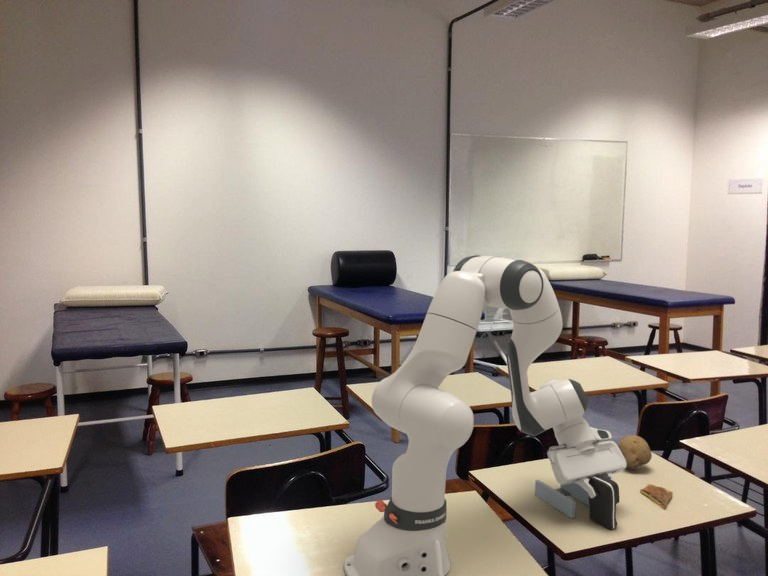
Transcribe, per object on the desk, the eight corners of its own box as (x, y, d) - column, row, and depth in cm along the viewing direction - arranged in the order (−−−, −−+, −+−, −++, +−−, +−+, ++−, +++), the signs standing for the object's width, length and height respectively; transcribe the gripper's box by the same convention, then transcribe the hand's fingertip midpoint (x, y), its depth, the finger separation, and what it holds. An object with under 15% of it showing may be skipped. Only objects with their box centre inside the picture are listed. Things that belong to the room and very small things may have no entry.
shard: (664, 511, 161) (665, 505, 161) (633, 503, 166) (633, 496, 165) (673, 496, 170) (674, 489, 170) (643, 488, 174) (644, 482, 174)
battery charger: (622, 525, 152) (621, 481, 150) (611, 531, 150) (610, 486, 148) (598, 513, 158) (597, 470, 156) (588, 518, 156) (586, 475, 154)
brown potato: (644, 463, 191) (646, 431, 189) (655, 475, 182) (657, 442, 181) (613, 462, 191) (615, 430, 190) (622, 474, 182) (624, 440, 181)
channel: (571, 518, 156) (572, 503, 156) (534, 494, 169) (535, 480, 168) (601, 511, 160) (602, 495, 160) (563, 488, 173) (563, 474, 172)
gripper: (551, 442, 153) (577, 497, 146) (614, 430, 162) (642, 482, 155) (538, 453, 158) (563, 507, 150) (600, 441, 167) (627, 492, 159)
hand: (603, 494), depth 153 cm, fingers closed on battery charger, 4 cm apart
